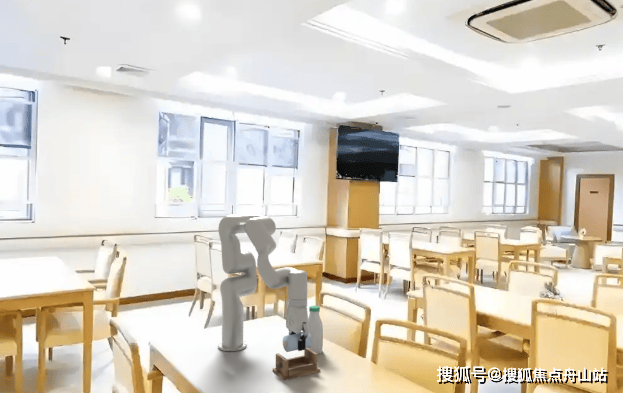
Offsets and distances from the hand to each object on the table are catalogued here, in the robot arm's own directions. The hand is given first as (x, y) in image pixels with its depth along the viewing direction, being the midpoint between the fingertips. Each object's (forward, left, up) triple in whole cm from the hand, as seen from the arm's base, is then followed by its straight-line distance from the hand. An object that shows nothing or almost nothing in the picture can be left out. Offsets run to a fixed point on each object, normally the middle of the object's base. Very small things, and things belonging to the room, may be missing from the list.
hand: (297, 347), depth 172 cm
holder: (0, 0, -10) cm, 10 cm away
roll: (0, 0, -1) cm, 1 cm away
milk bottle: (-14, +17, -10) cm, 24 cm away
